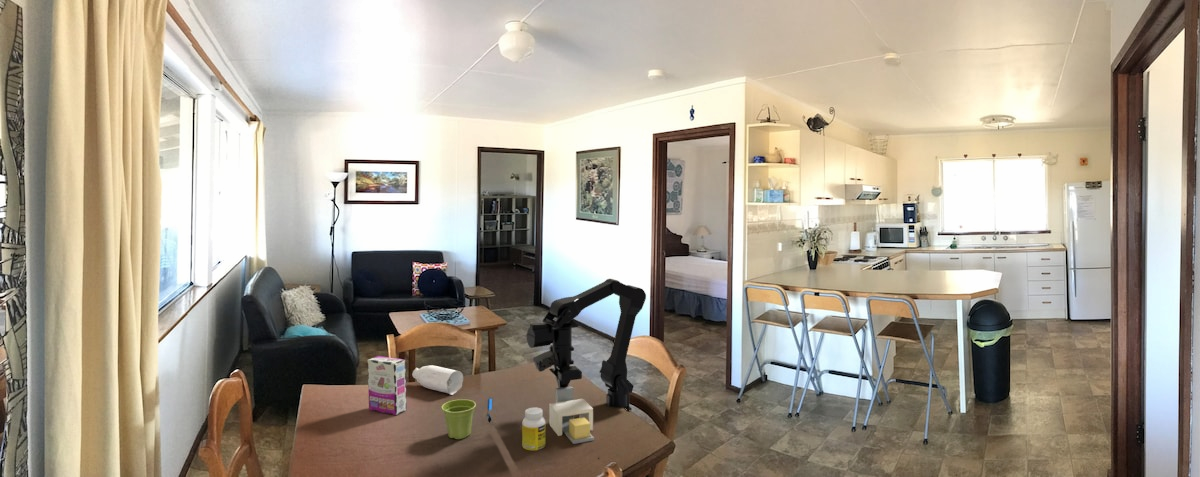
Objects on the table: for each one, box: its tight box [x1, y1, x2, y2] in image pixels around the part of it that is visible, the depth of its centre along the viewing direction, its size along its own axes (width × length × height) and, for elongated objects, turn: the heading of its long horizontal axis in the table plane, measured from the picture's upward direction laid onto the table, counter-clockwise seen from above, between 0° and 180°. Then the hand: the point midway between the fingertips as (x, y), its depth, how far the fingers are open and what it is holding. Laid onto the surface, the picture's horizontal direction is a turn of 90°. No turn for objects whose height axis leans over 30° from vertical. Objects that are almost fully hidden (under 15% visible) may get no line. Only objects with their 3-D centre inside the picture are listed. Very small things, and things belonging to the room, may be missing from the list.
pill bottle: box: [521, 407, 546, 452], centre depth 152 cm, size 6×6×11 cm
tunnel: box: [548, 398, 594, 437], centre depth 167 cm, size 10×15×8 cm
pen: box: [487, 397, 493, 423], centre depth 180 cm, size 1×19×1 cm, turn 10°
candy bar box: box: [367, 355, 407, 416], centre depth 178 cm, size 11×5×16 cm, turn 68°
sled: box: [555, 385, 595, 445], centre depth 161 cm, size 6×17×10 cm, turn 23°
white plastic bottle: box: [411, 364, 464, 396], centre depth 197 cm, size 8×19×8 cm, turn 60°
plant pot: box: [441, 399, 477, 440], centre depth 161 cm, size 9×9×9 cm
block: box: [569, 417, 591, 440], centre depth 157 cm, size 4×4×4 cm
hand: (561, 393), depth 170 cm, fingers closed
